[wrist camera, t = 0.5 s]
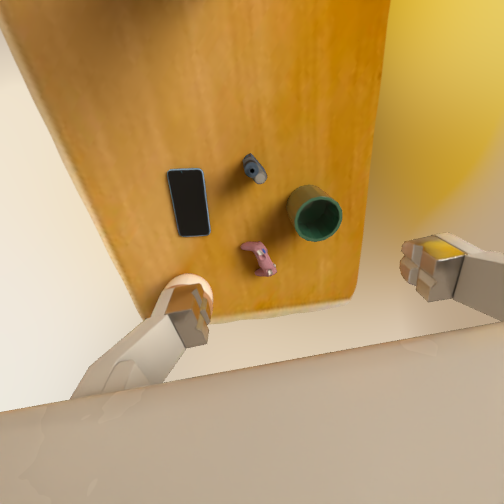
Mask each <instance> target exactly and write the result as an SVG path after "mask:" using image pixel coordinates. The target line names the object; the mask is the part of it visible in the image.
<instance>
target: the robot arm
mask: <svg viewBox="0 0 504 504" xmlns="http://www.w3.org/2000/svg"><path fill="white" fill-rule="evenodd" d="M401 251H402V253H403V254H404V257H403V258H402V259H401V260H400V271H401V275H402V276H403V278H404V279H405V280H406V281H407V282H408V283H409V284H412V285H415V286H416V291H417V292H418V293H419V294H420V295H421V296H422V297H423V298H424V299H425V300H426V301H427V302H433V301H439V300H445V299H451V298H453V300H455V301H458V302H460V303H462V304H464V305H466V306H469V307H471V308H474V309H475V310H478V311H480V312H482V313H484V314H486V315H489V316H491V317H493V318H495V319H498V320H500V321H502V322H497V323H492V324H486V325H481V326H475V327H469V328H464V329H458V330H453V331H448V332H441V333H436V334H430V335H424V336H419V337H413V338H408V339H403V340H397V341H391V342H386V343H380V344H375V345H369V346H364V347H358V348H353V349H347V350H341V351H336V352H330V353H325V354H319V355H314V356H308V357H303V358H297V359H292V360H286V361H281V362H275V363H270V364H265V365H259V366H253V367H248V368H243V369H237V370H231V371H226V372H220V373H215V374H209V375H204V376H198V377H192V378H187V379H181V380H176V381H170V382H165V383H163V381H164V380H165V378H166V377H167V376H168V374H169V373H170V371H171V370H172V369H173V367H174V366H175V364H176V363H177V362H178V360H179V359H180V357H181V356H182V355H183V353H184V352H185V350H186V348H190V347H195V346H200V345H204V344H207V341H208V333H209V329H208V327H207V325H208V324H209V322H210V319H211V311H210V306H209V302H208V300H207V299H206V298H205V297H203V294H204V290H203V287H202V285H201V284H200V283H196V284H191V285H185V286H180V287H176V288H175V287H174V288H169V289H165V290H163V291H162V292H161V294H160V296H159V299H158V301H157V303H156V305H155V308H154V310H153V312H152V314H151V317H150V318H147V319H145V320H144V321H143V322H142V323H140V324H139V325H138V326H137V327H136V328H134V329H133V330H132V331H131V332H130V333H128V334H127V335H126V336H125V337H124V338H123V339H121V340H120V341H119V342H118V343H117V344H116V345H114V346H113V347H112V348H111V349H110V350H108V351H107V352H106V353H105V354H104V355H102V357H100V358H99V359H98V360H97V361H95V362H94V363H93V364H92V365H91V366H90V367H89V368H88V370H87V371H86V373H85V375H84V376H83V378H82V380H81V381H80V383H79V385H78V387H77V388H76V390H75V391H74V393H73V395H72V396H71V398H70V400H65V401H60V402H54V403H49V404H43V405H38V406H32V407H27V408H21V409H15V410H10V411H4V412H0V504H504V253H499V252H494V251H486V252H485V251H483V250H481V249H479V248H478V247H476V246H474V245H472V244H470V243H468V242H466V241H464V240H463V239H460V238H459V237H457V236H455V235H453V234H451V233H447V232H444V233H439V234H435V235H431V236H428V237H423V238H419V239H414V240H410V241H405V242H404V243H403V245H402V250H401Z"/></svg>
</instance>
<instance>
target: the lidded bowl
mask: <svg viewBox="0 0 504 504" xmlns="http://www.w3.org/2000/svg"><path fill="white" fill-rule="evenodd" d="M196 283H200V284H201V285H202V287H203V290H204V294H203V297H205V298H206V299H207V300H208V302H209V306H210V311H211V315H212V311H213V294H212V289H211V287H210V285H209V284H208V282H207V281H206V280H205V279H203V278H202V277H200V276H198V275H195V274H182V275H179V276H177V277H175V278H173V279H172V280H171V281H170V282H169V283H168V284H167V285H166V287H165V288H164V290H165V289H169V288H174V287H175V288H176V287H180V286H185V285H191V284H196Z"/></svg>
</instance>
